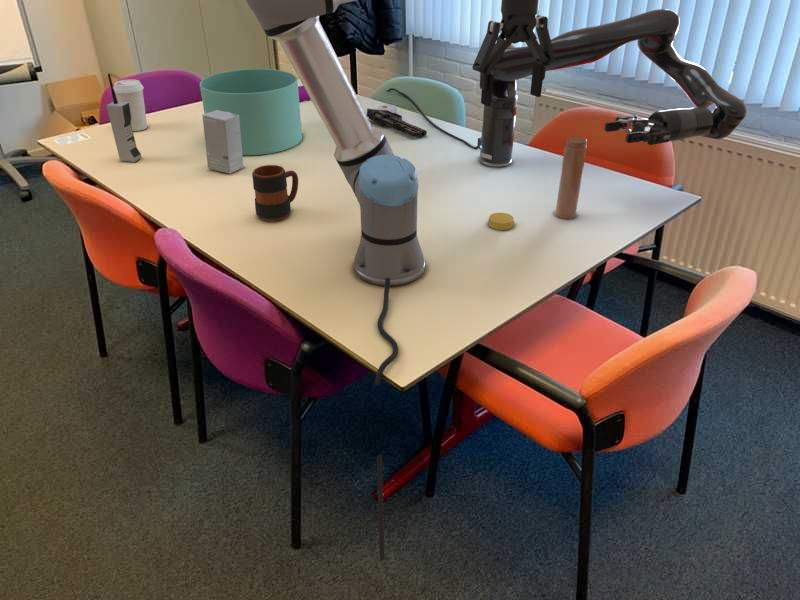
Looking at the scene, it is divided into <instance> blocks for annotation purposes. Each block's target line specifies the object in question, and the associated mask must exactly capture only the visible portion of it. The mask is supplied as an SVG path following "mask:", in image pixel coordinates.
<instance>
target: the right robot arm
mask: <svg viewBox="0 0 800 600" xmlns="http://www.w3.org/2000/svg"><path fill="white" fill-rule="evenodd" d="M679 27H680V16H679V15H678V14H677V12H675V11H673V10H671V9H666V8H659V9H658V8H657V9H653V10H649V11H645V12H643V13H639V14H637V15H634V16H630V17H627V18H624V19H620V20H616V21H612V22H608V23H604V24H599V25H594V26H588V27H582V28H577V29H573V30H570V31H566V32H563V33H561V34H559V35H557V36H555V37H553V38H550V39H551V43H552V47H553V51H554V55H555V60H554V61H551V64H550V65H549V66H546V72H551V71H556V70H557V71H558V70H563V69H568V68H573V67H574V68H575V67H578V66H583V65H588V64H592V63H596V62H598V61H600V60H602V59H604V58H606V57H607V56H609V55H610V54H612V53H613V52H615V51H616V50H618V49H620V48H621V47H623V46H625V45H627V44H629V43H632V42H636V41H637V42H636V43H637V47H638V49H639V50H640V52H641V53H642V54H643V55H644V56H645V57H646V58H647V59H648V60H650V62H652V63H653V64H654V65H656V66H657V67H658V68H659V69H660V70H661V71H663V72H664V73H665V74H666V75H667V76H668V77H670V78H671V79H672V80H673V81H674V82H675V83H676V84H677V86H679V88H680V89H681V90H682V91H683V93H684V94H685V95H686V96H687V98H688V99H689V100H690V101H691V102H692V104H693V105H694V106H695V107H689V108H674V109H666V110H658V111H654V112H652V113H651V114H650V116H648V118H645V117H644V118H643V117H641V118H638V117H639V116H638V115H637V114H633V115H622V116H616V117H615V119H614V120H613V121H607V122H605V124H604V128H603V129H604V130H603V131H604V132H606V133H610V132H617V131H623V132H625V133H626V136H625V143H627V144H633V143H641V144H644V143H647V145H648V146H652V145H659V144H664V143H669V142H675V141H681V140H682V141H683V140H685V139H690V138H695V137H702V138H707V139H712V140H722V139H725V138H727V137H729V136H730V135H731V134H732V133H733V132H734V131H735V129H736V128H737V127H738V126H739V125H740V124H741V123H742V121H743V120H744V119H746V116H747V114H748V109H747V106H746V104H745V102H744V101H743V100H742V99H741V98H739V97H737V96H736V95H734V94H733V93H731V92H729V91H728V90H726V89H725V88H723V87H721V86H720V85H719V83H718V82H717V81H716V79H714V77H713V76H712V75H711V74H710V73H709V72H708V71H707V70H706V69H705V68H704V67H703V66H701V65H699V64H697V63H694V62H691V61H688V60H685V59H683V58H682V57H681V56H680V55H679V54H678V52H677V51H676V49H675V48H674V46H673V43H674V41H675V38H676V35H677V33H678V31H679ZM539 45H540V43H539ZM533 64H538V63H537V61H536V60H535V58H534V56H533V55H532V53H531V51H530V49H529V48H528V46H527V45H526V46H518V47H515V46H514V45H513V43H512V44H511V45H510V46H509V47H507V49H506V50H505V52H504V53H503V55H502V56H501V58H500V59H499V61H498V62H497V64H496V65H495V67H494V68H493V70H492V71H491V74H494V77H493V90H492V103H491V106H486V105H484V104H483V118H482V127H481V135H480V136H481V137H478V138H477V145H476V146H473V145H472V144H470V143H469V142H467V141H466V140H464V139H462V138H460V137H458V136H456V135H453V134H452V133H450V132H448V131H446V130H444V129H443V128H441V127H440V126H438V125H436V124H435V123H434V122H433V121H432V120H430V119H429V118H428V117H427V115H426V114H425V113H424V112H423V111H422V109H421V108H420V107H419V106H418V105H417V103H416V102H415V101H414V100H413V99H412V98H411V97H410V96H408V94H406V93H404V92H402V91H400V90H399V89H396V88H394V87H393V88H392V87H391V88H389V89H387V92H388V93H389V92H390V91H393V92H395V93H399V95H402V96H404V97H405V98H406V99H407V100H408V101H410V102H411V103H412V104H413V105H414V107H416V109H417V110H418V111H419V113H420V114H421V116H422V117H423V118H424V119H425V120H426V121H427V123H429V124H430V125H432V126H433V127H434V128H435V129H436V130H438V131H440V132H442V133H443V134H444V135H447V136H449V137H451V138H452V139H455V140H457V141H459V142H462V143H464V144H465V145H466V146H468V147H469V148H471V149H474V150H479V162H480V163H481V164H482V165H483V166H487V167H492V168H503V167H508V166H510V165H512V162H513V161H512V160H513V150H514V148H513V147H514V138H515V128H516V120H517V119H516V118H517V110H518V109H517V106H518V100H519V99H518V98H519V97H518V96H519V95H518V90H517V80H521V79H523V78H524V79H525V78H527V77H530V76H532V72H533ZM712 105H715V108H714V109H713V110H712V111H711V109H709V107H711V106H712ZM631 128H632V129H631Z"/></svg>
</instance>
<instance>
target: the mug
mask: <svg viewBox="0 0 800 600" xmlns="http://www.w3.org/2000/svg"><path fill="white" fill-rule="evenodd" d="M251 175H252V176H251V177H252V186H253V190H254V195H255V196H254V206H255V207H254V209H255V215H256V216H257V217H258V218H259V219H260V220H262V221H265V222H279V221H282V220H285V219H286V218H288V217H289V215H290V214H291V212H292V207H291V203H292V202H294V200H295V198H296V197H297V194H298V189H299V176H298V174H297V172H296V171H294V170H287V171H286V170H285V168H284V167H283V166H281V165H277V164H267V165H261V166H258V167H256V168H254V169H253V171H252V174H251ZM290 177H291V181H292V182H291V188H290V189H291V190H290V194H288V188H287V187H288V182H287V180H288V179H287V178H290Z"/></svg>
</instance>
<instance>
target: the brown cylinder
mask: <svg viewBox="0 0 800 600" xmlns="http://www.w3.org/2000/svg"><path fill="white" fill-rule="evenodd" d="M587 142H588V140H587V138H585V137H583V136H577V135H575V136H569V137H567V139H566V142H565V145H564V150H563V157H562V164H561V171H560V177H559V185H558V191H557V199H556V206H555V213H554V214H555V215H554V216H556V217H557V218H559V219H564V220H572V219H575V218H576V216H577V210H578V203H579V197H580V191H581V184H582V179H583V173H584V167H585V161H586V154H587V149H588V148H587V144H588V143H587Z"/></svg>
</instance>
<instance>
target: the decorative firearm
mask: <svg viewBox="0 0 800 600" xmlns="http://www.w3.org/2000/svg"><path fill="white" fill-rule="evenodd" d="M397 110H398V107H397V105H393V104H388V103H385V104H382V105H379V106H378V107H376V108H369V107H367V108H366V115H367V117H368V119H369V120H370V121H373V122H374V123H377V124H379V125H382V126H383V127H384V126H389V127H391V128H393V129H395V130H397V131H399V132H401V133H404V134H406V135H408V136H411V137H415V138H416V137H419V138H424V137H426V136H427V132H428V130H426V129H423V128H421V127H420V126H416V125H413V124H411V123H409V122H406V121H405V120H403V115H401V114H399V113H397Z"/></svg>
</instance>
